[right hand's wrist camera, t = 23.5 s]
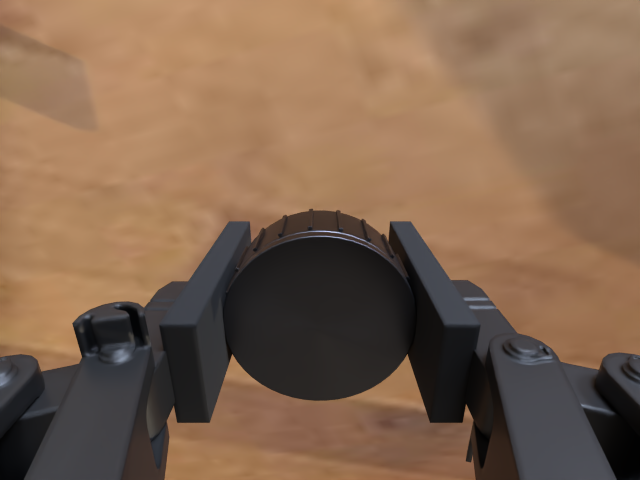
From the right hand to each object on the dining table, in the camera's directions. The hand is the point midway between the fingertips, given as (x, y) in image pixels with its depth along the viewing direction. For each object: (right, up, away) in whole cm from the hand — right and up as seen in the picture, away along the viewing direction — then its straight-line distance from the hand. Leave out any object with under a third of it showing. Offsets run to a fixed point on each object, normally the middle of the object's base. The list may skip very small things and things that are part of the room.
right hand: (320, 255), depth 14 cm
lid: (0, -2, -4) cm, 4 cm away
